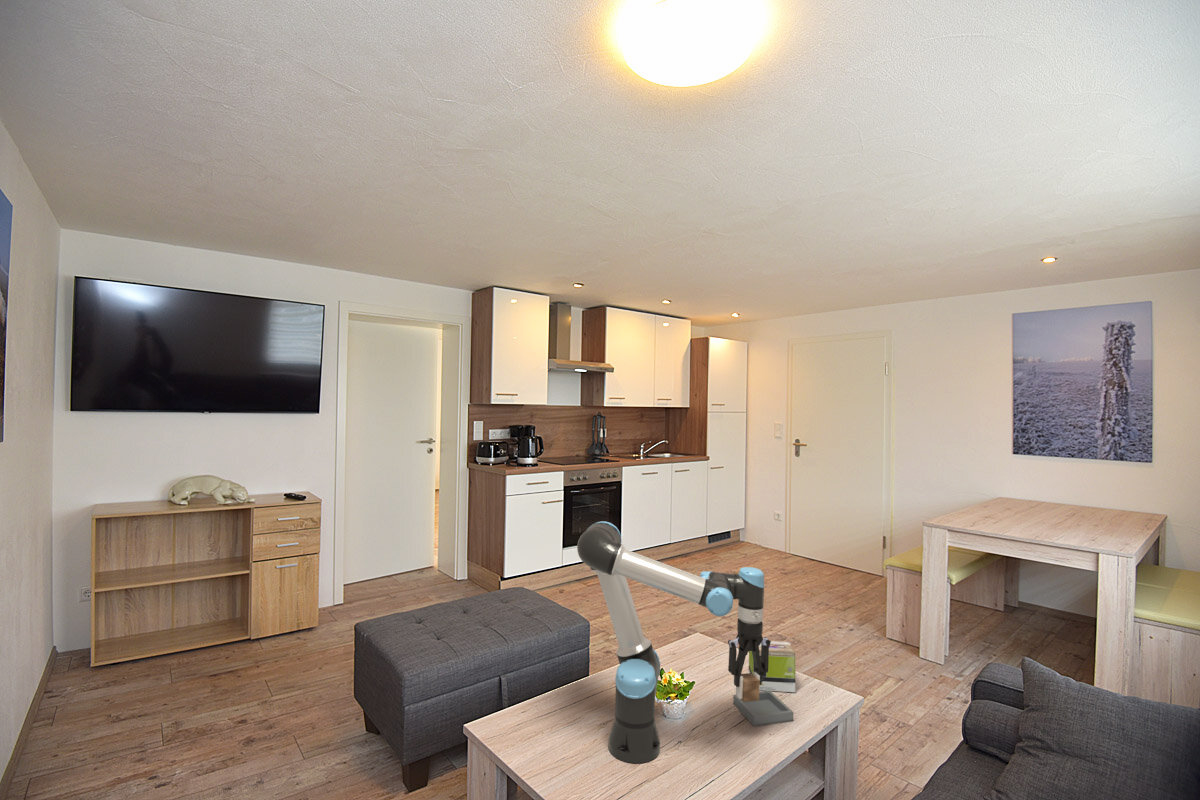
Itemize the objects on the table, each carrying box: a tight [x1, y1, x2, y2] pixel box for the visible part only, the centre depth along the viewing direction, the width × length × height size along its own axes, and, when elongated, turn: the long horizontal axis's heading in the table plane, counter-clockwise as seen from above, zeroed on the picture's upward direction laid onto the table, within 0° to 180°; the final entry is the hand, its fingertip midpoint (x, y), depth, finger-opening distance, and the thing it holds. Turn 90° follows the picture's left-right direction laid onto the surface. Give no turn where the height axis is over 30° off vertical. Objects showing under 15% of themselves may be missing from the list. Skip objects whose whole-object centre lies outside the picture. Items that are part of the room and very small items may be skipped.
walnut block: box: [741, 672, 760, 702], centre depth 172 cm, size 5×5×6 cm
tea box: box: [748, 640, 797, 693], centre depth 205 cm, size 15×10×15 cm
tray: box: [732, 690, 794, 727], centre depth 186 cm, size 14×14×3 cm
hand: (747, 695), depth 172 cm, fingers closed on walnut block, 5 cm apart
